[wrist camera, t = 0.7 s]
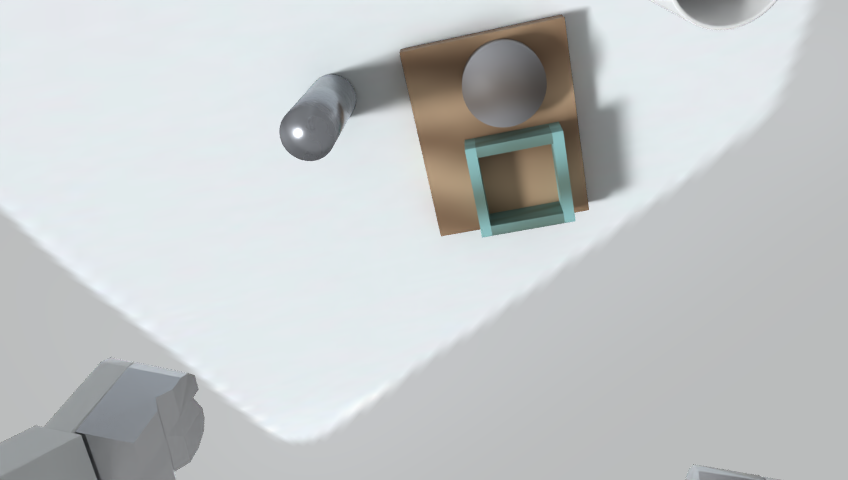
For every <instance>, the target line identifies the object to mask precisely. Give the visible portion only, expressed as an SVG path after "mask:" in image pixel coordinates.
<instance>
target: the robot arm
mask: <svg viewBox="0 0 848 480" xmlns="http://www.w3.org/2000/svg"><path fill="white" fill-rule="evenodd" d="M197 391H198V386H197V382H196V378H195V375H192V374H189V373H185V372H180V371H176V370H171V369H165V368H161V367H157V366H152V365H147V364H142V363H137V362H131V361H126V360H121V359H116V358H111V357H110V358H108V359H106V360H104V361H102V362H101V363H99V365H98V366H97V367H96V368H95V369H94V370H93V372H91V374H90V375H89V376H88V377H87V378H86V379H85V381H84V382H83V383H82V384H81V385H80V386H79V387H78V388H77V390H76V391H75V392H74V393H73V394H72V395H71V396H70V398H69V399H68V400H67V401H66V402H65V403H64V404H63V405H62V407H61V408H60V409H59V410H58V411H57V412H56V413H55V414H54V416H53V417H52V418H51V419H50V420H49V422H47V424H46V425H45V426H44V427H42V426H34V427H32V428H29V429H27V430H25V431H24V432H21V433H19V434H17V435H15V436H13V437H11V438H9V439H7V440H5V441H3V442H1V443H0V480H176V475H175V471H176V470H178V469H180V468H181V467H183V466H185V465H186V464H188V463H189V462H191V460H192V458H193V456H194V455H195V453H196V451H197V450H198V448H199V445H200V441H201V438H202V435H203V432H204V414H203V409H202V407H201V406H200V405H199V404H198V403H197V402H196V401H195V400H194V398H193V397H194V395H195V394H196V392H197ZM685 480H779V479H773V478H768V477H761V476H759V475H753V474H747V473H741V472H735V471H729V470H724V469H718V468H712V467H706V466H700V465H693V466H692V467H691V468H690V469H689V471H688V474H687V476H686V479H685Z"/></svg>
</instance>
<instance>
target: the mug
mask: <svg viewBox="0 0 848 480" xmlns="http://www.w3.org/2000/svg"><path fill="white" fill-rule="evenodd" d="M650 1H651V2H653V3H654V4H656V5H658V6H660V7H662V8H664V9H666V10H668V11H670V12H672V13H673V14H675V15H677V16H679V17H681V18H683V19H685V20H687V21H689V22H690V23H692V24H694V25H696V26H699V27H701V28H705V29H710V30H728V29H734V28H737V27H741V26H743V25H746V24H748V23H750V22H752V21H754V20H755V19H757V18H759V17H760V16H761V15H763V14H764V13H765V12H766V11H768V10H769V9H770V8H771V7H772V6H773V5H774V4H775V3H776V1H777V0H650Z"/></svg>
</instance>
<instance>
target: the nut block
mask: <svg viewBox="0 0 848 480" xmlns="http://www.w3.org/2000/svg"><path fill="white" fill-rule="evenodd" d="M400 57H401V62H402V66H403V70H404V75H405V79H406V84H407V88H408V93H409V97H410V101H411V106H412V110H413V115H414V119H415V123H416V128H417V132H418V137H419V141H420V145H421V150H422V154H423V159H424V163H425V168H426V172H427V176H428V181H429V185H430V190H431V194H432V198H433V203H434V207H435V212H436V216H437V221H438V225H439V229H440V234H441V236H445V235H451V234H457V233H462V232H468V231H473V230H479V229H481V234H482V237H488V236H493V235H499V234H505V233H510V232H516V231H522V230H527V229H533V228H539V227H544V226H550V225H556V224H561V223H567V222H573V221H575V214H574V213H575V212H580V211H586V210H589V206H588V198H587V190H586V182H585V175H584V167H583V159H582V151H581V143H580V135H579V127H578V119H577V112H576V104H575V96H574V88H573V80H572V72H571V64H570V57H569V49H568V41H567V33H566V25H565V17H564V16H563V15H557V16H553V17H548V18H543V19H539V20H534V21H530V22H525V23H520V24H516V25H511V26H506V27H502V28H497V29H493V30H488V31H483V32H479V33H474V34H469V35H465V36H460V37H455V38H451V39H446V40H442V41H437V42H432V43H428V44H423V45H418V46H414V47H409V48H404V49H401V50H400Z"/></svg>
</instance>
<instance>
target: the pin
mask: <svg viewBox="0 0 848 480" xmlns="http://www.w3.org/2000/svg"><path fill="white" fill-rule="evenodd" d="M355 105H356V93H355V90H354V88H353V86H352V85H351V83H350V82H349V81H348V80H346V79H345V78H343V77H341V76H339V75H334V74H329V75H325V76H322V77H320V78H319V79H318V80H316V81H315V83H314V84H313V85H312V86H311V87H310V88H309V89H308V90H307V92H306V93H305V94H304V95H303V96H302V97H301V98H300V99H299V101H298V102H297V103H296V104H295V105H294V106H293V107H292V109H291V110H290V111H289V112H288V113H287V114H286V115H285V116H284V118H283V120H282V122H281V125H280V138H281V141H282V144H283V146H284V147H285V149H286V150H287V151H288V152H289V153H290V154H291V155H293V156H294V157H296V158H298V159H301V160H305V161H314V160H318V159H321V158H323V157H325V156H326V155H327V154H328V153H329V152H330V151H331V149H332V147H333V146H334V144H335V142H336V140H337V138H338V137H339V135H340V133H341V131H342V129H343V128H344V126H345V124H346V122H347V120H348V119H349V117H350V115H351V113H352V111H353V110H354V108H355Z"/></svg>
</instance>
